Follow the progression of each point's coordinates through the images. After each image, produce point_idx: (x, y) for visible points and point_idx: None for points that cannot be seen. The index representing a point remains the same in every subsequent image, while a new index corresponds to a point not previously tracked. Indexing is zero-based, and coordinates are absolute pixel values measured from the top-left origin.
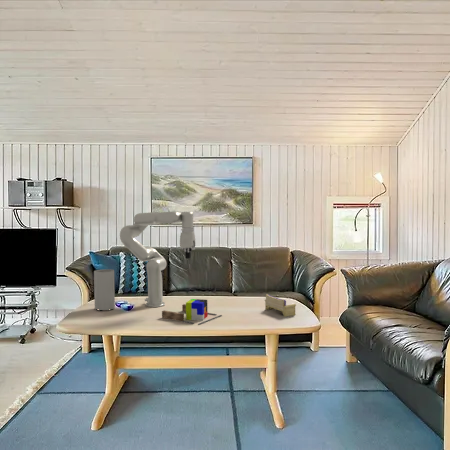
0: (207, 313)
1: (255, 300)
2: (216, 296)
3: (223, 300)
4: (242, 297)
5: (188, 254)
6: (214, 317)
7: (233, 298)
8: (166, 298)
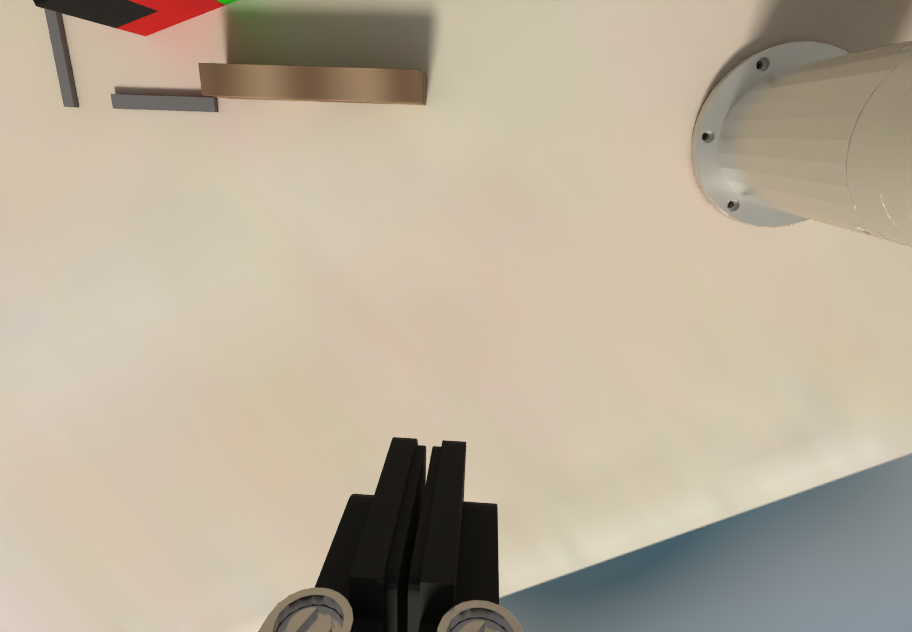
0: (130, 31)
1: (189, 580)
2: None
3: None
4: None
5: (356, 548)
6: None
7: None
8: (817, 392)
